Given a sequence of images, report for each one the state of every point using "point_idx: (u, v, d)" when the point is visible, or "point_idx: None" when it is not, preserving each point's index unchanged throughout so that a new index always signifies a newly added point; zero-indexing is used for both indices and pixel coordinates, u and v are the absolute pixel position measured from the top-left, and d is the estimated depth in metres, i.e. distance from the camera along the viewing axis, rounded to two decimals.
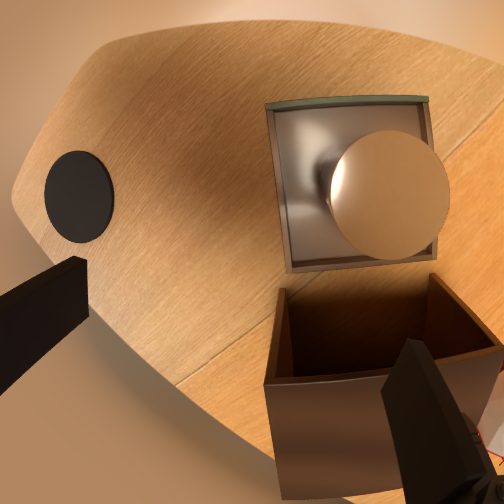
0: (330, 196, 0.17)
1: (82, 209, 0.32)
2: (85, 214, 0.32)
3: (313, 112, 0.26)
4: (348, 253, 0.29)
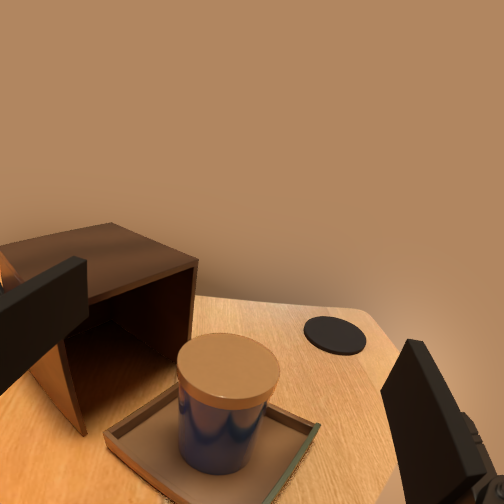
0: (257, 342, 0.25)
1: (325, 331, 0.50)
2: (321, 331, 0.50)
3: (291, 456, 0.25)
4: (172, 404, 0.30)
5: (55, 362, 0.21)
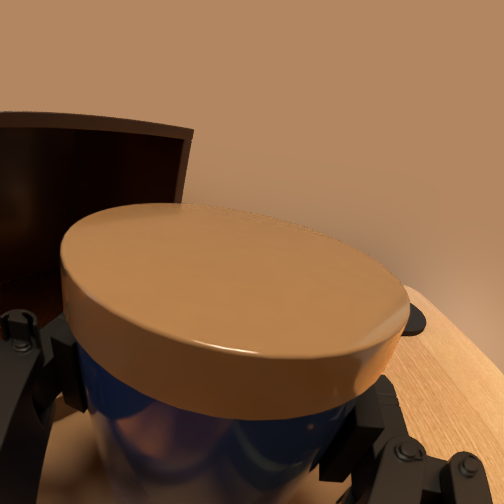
0: None
1: None
2: None
3: None
4: None
5: None
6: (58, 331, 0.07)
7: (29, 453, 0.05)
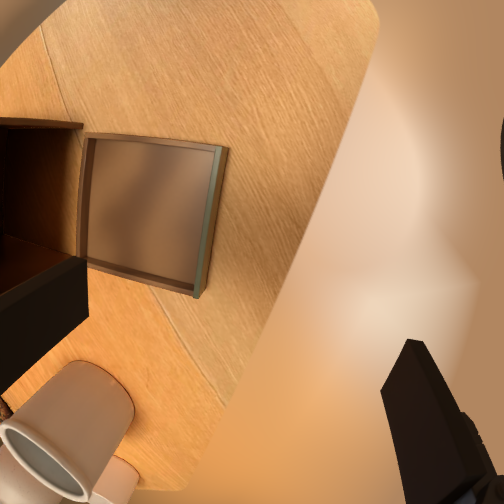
0: None
1: None
2: None
3: (209, 187, 0.29)
4: (93, 187, 0.31)
5: None
6: None
7: None
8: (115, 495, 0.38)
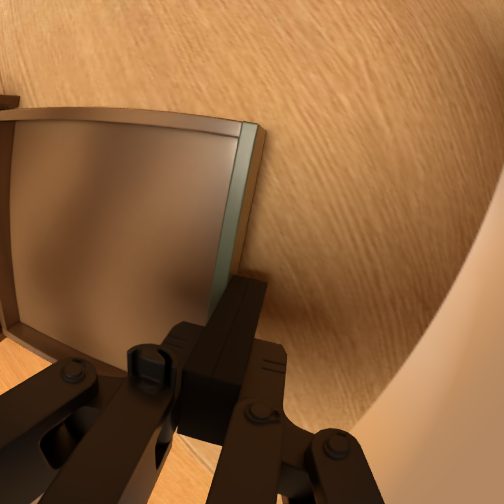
0: None
1: None
2: None
3: (221, 221, 0.13)
4: (12, 209, 0.15)
5: None
6: (188, 362, 0.07)
7: (138, 499, 0.05)
8: None
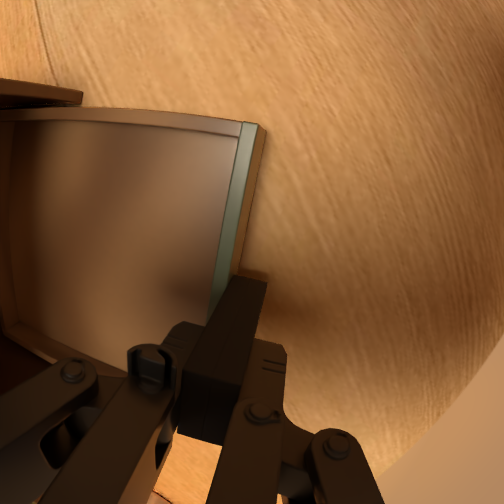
0: None
1: None
2: None
3: (221, 221, 0.13)
4: (12, 209, 0.15)
5: None
6: (188, 362, 0.07)
7: (138, 499, 0.05)
8: None
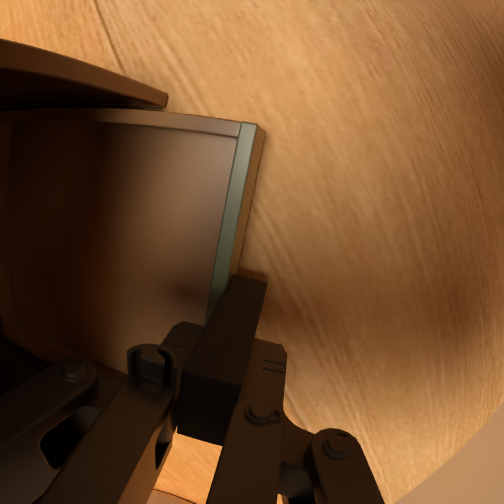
0: None
1: None
2: None
3: (220, 222, 0.13)
4: (10, 210, 0.15)
5: None
6: (188, 362, 0.07)
7: (138, 499, 0.05)
8: None
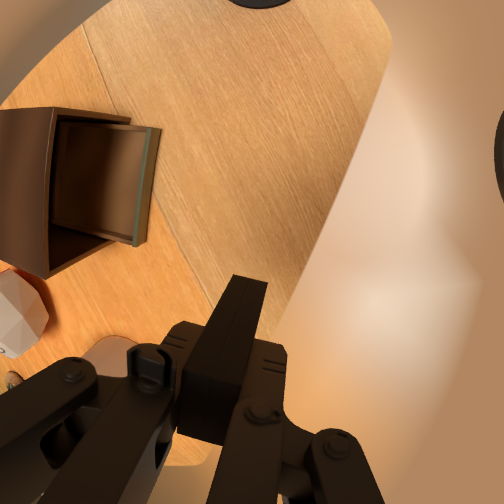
0: None
1: None
2: None
3: None
4: (66, 163, 0.37)
5: None
6: (188, 362, 0.07)
7: (138, 498, 0.05)
8: None
